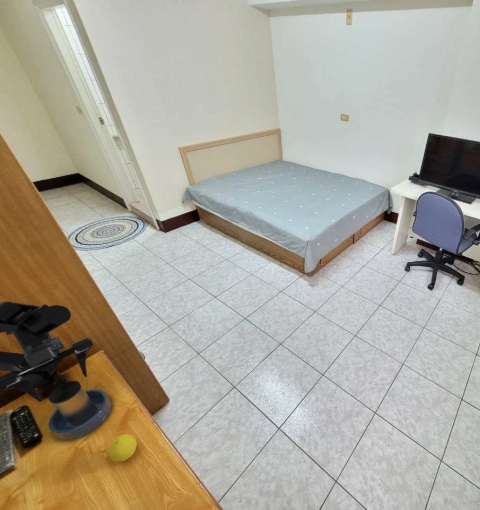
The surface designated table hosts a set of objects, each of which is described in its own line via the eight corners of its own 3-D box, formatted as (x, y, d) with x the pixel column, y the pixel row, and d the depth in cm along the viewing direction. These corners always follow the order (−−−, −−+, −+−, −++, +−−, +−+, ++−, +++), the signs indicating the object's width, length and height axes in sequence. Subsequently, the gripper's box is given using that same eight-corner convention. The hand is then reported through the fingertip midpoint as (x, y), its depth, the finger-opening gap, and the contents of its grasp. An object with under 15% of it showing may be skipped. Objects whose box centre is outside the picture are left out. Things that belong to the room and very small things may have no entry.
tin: (67, 416, 76) (46, 391, 70) (94, 400, 81) (77, 376, 74) (72, 431, 73) (51, 407, 67) (100, 414, 77) (82, 390, 71)
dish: (51, 418, 76) (44, 410, 74) (104, 388, 85) (100, 381, 82) (60, 450, 70) (53, 443, 68) (116, 415, 78) (112, 408, 76)
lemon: (127, 469, 68) (117, 455, 64) (109, 463, 68) (97, 449, 64) (145, 446, 72) (136, 431, 68) (128, 440, 73) (118, 426, 69)
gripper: (-30, 360, 59) (5, 418, 60) (77, 317, 73) (106, 365, 73) (-14, 362, 67) (17, 413, 67) (81, 323, 80) (106, 366, 81)
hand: (64, 388), depth 72 cm, fingers open, 9 cm apart
